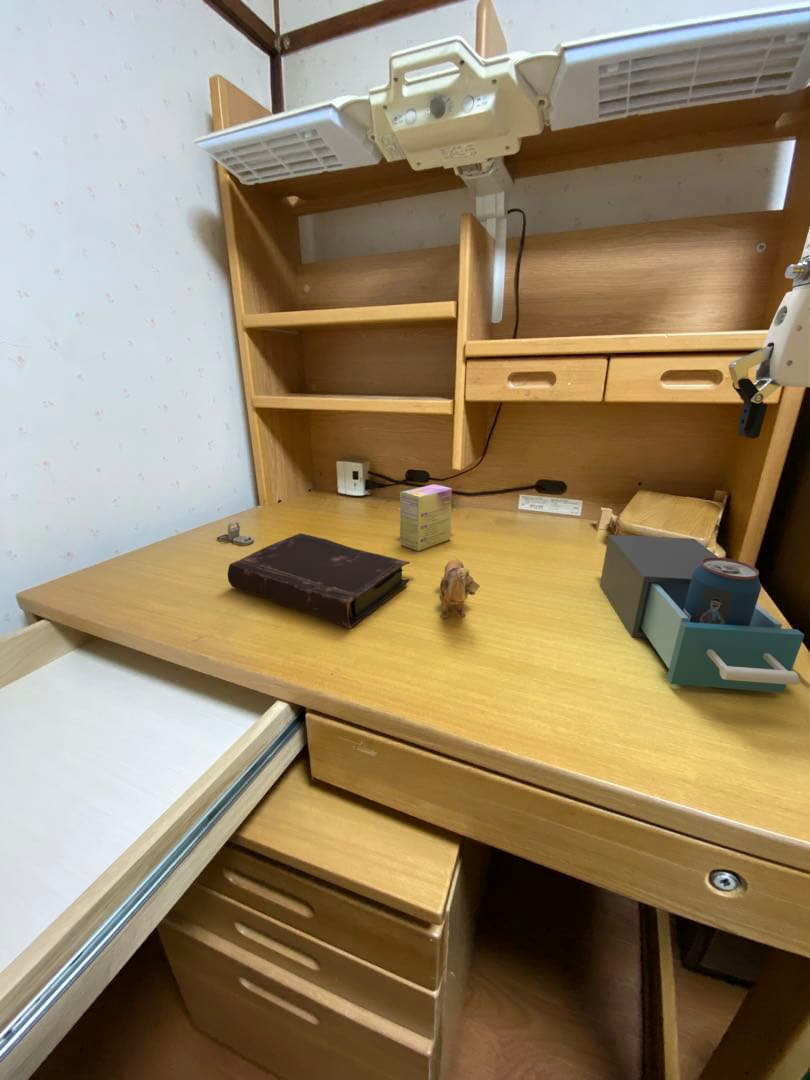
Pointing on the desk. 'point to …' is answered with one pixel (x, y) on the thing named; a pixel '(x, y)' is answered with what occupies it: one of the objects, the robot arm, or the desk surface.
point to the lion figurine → (456, 587)
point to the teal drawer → (719, 645)
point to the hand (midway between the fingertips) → (790, 437)
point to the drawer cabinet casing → (645, 571)
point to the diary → (320, 577)
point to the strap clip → (235, 536)
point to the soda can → (722, 592)
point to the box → (425, 516)
